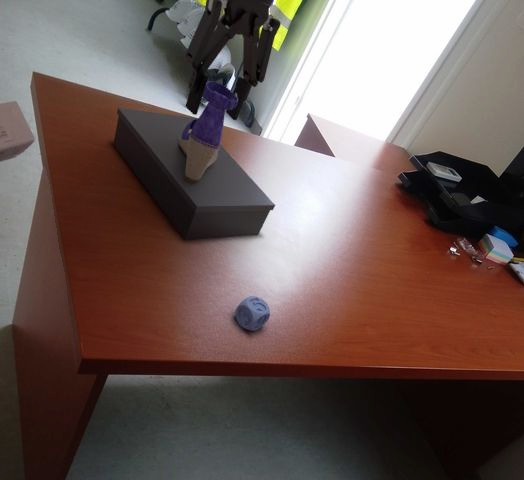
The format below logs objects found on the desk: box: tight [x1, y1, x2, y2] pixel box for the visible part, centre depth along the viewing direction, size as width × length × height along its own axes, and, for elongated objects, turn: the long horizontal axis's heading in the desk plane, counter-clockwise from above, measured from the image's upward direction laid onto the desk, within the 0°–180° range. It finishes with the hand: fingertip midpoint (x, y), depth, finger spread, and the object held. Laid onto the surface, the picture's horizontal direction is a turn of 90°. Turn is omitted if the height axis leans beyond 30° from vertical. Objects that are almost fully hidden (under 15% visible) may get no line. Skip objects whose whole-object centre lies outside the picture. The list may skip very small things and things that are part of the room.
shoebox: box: [112, 107, 276, 241], centre depth 91 cm, size 31×19×7 cm, turn 39°
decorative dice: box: [235, 295, 271, 332], centre depth 73 cm, size 4×4×4 cm
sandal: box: [179, 80, 238, 183], centre depth 82 cm, size 8×20×15 cm, turn 176°
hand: (211, 113), depth 83 cm, fingers open, 8 cm apart
